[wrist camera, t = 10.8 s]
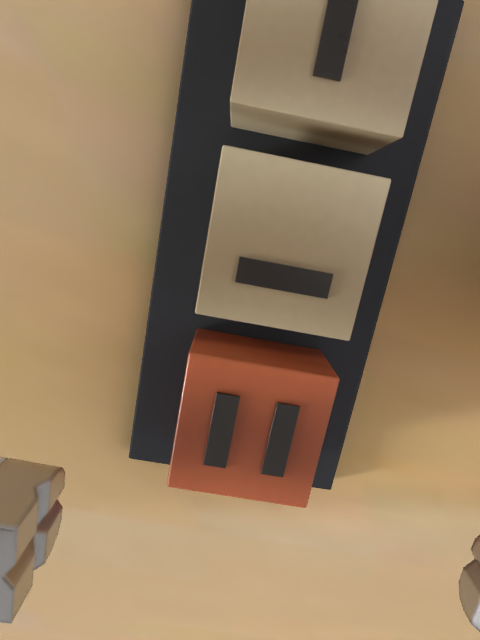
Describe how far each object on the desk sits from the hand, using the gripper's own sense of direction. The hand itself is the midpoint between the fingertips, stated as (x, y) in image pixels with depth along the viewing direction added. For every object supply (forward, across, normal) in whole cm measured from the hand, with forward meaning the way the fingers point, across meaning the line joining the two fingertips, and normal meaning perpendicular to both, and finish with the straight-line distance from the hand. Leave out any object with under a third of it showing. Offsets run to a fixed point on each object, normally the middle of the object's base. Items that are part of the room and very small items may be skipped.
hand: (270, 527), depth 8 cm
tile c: (+7, 0, -10) cm, 13 cm away
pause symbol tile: (+7, 0, +1) cm, 7 cm away
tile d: (+7, 0, -5) cm, 9 cm away
